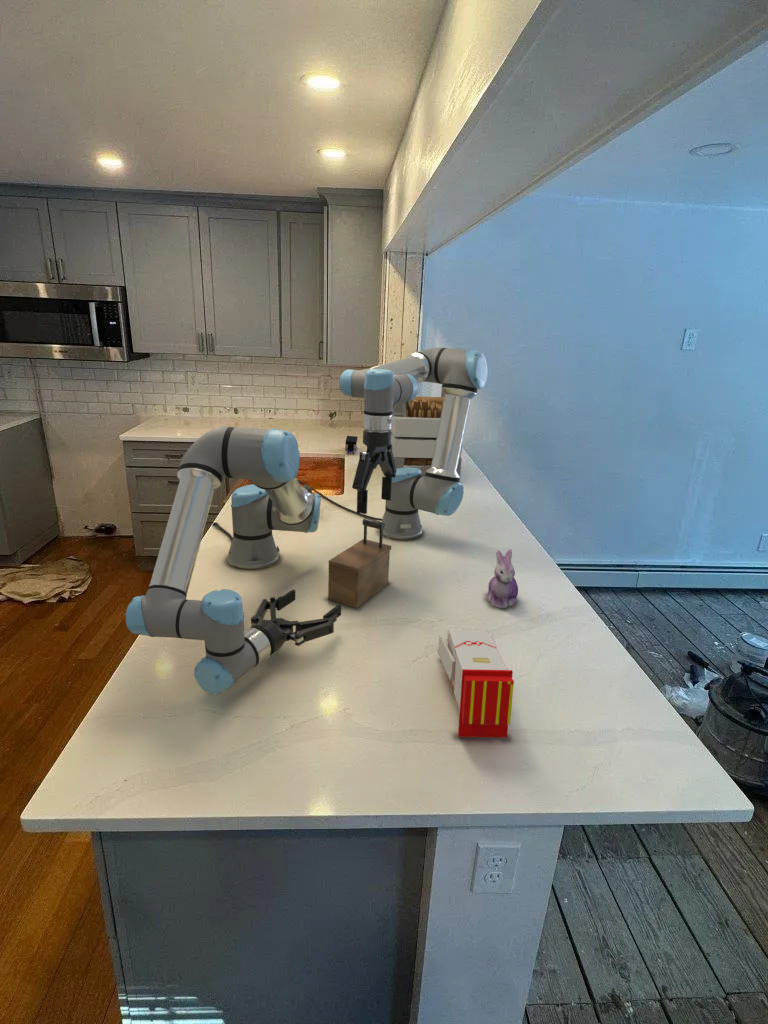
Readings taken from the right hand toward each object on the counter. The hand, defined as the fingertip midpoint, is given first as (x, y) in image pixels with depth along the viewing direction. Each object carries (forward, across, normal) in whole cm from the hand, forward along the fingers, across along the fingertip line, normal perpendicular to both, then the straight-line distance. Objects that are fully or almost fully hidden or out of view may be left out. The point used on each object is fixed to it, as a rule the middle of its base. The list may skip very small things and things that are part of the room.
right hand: (374, 506), depth 156 cm
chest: (+23, -7, 0) cm, 24 cm away
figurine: (+23, +10, -36) cm, 44 cm away
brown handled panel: (+13, -6, 0) cm, 14 cm away
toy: (+23, -33, -42) cm, 58 cm away
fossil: (+23, +35, +54) cm, 68 cm away
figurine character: (+23, +129, +86) cm, 157 cm away
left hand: (+17, -28, 0) cm, 33 cm away
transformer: (+23, +113, +38) cm, 121 cm away
